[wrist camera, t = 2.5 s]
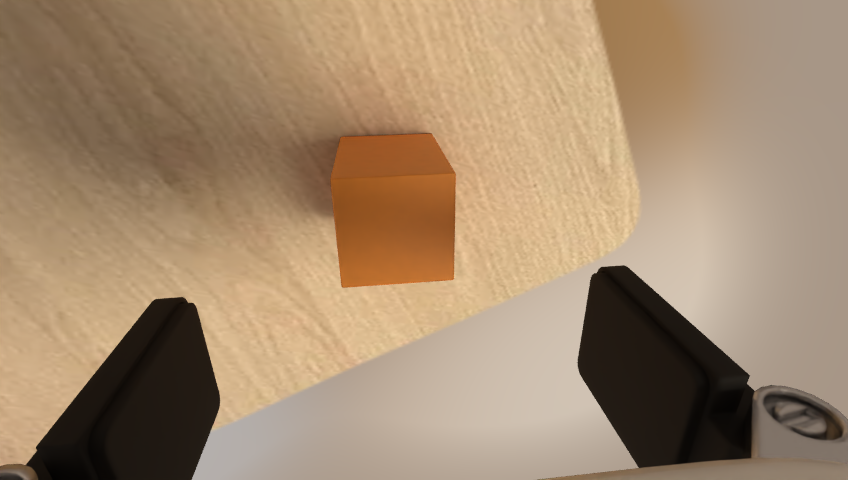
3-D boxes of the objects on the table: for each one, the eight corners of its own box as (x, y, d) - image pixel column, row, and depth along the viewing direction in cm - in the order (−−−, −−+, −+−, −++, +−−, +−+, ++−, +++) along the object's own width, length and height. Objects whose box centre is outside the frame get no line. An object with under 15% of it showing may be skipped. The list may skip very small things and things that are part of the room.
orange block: (431, 132, 20) (455, 172, 14) (432, 216, 22) (454, 280, 16) (340, 136, 19) (330, 178, 14) (348, 221, 21) (341, 288, 16)
